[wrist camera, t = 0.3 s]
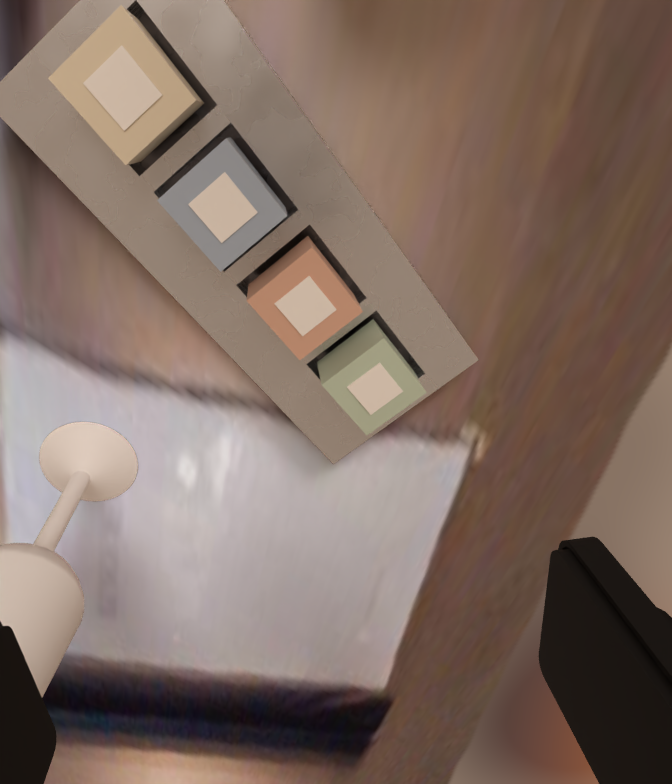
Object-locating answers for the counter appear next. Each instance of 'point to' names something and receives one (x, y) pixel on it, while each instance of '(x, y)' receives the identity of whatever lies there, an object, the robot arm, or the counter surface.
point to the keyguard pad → (279, 170)
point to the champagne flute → (39, 561)
